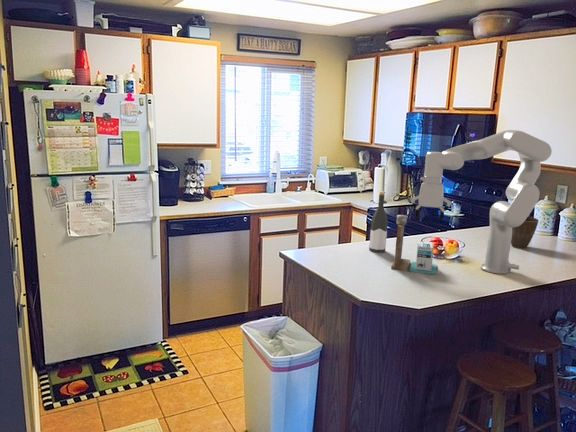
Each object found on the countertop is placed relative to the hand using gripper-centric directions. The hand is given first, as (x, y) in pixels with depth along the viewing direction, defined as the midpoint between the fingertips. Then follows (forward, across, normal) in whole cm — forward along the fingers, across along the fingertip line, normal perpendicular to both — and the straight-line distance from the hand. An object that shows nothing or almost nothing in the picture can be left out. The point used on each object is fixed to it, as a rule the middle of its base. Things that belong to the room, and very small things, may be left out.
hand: (429, 219), depth 218 cm
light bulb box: (+22, -1, 0) cm, 22 cm away
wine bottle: (+23, -25, +20) cm, 39 cm away
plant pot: (+24, +45, +64) cm, 82 cm away
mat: (+23, -1, 0) cm, 23 cm away
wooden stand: (+23, -11, 0) cm, 25 cm away
